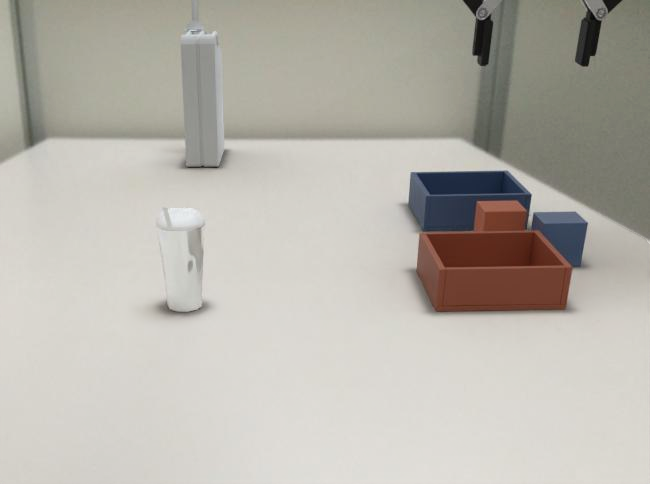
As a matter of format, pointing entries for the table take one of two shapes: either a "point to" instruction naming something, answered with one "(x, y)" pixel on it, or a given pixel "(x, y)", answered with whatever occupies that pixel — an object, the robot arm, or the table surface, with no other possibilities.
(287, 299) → the table surface
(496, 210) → the terracotta block
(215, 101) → the jerry can
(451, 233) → the terracotta bin
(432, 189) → the slate bin
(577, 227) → the slate block
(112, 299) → the table surface
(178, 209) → the milkshake
